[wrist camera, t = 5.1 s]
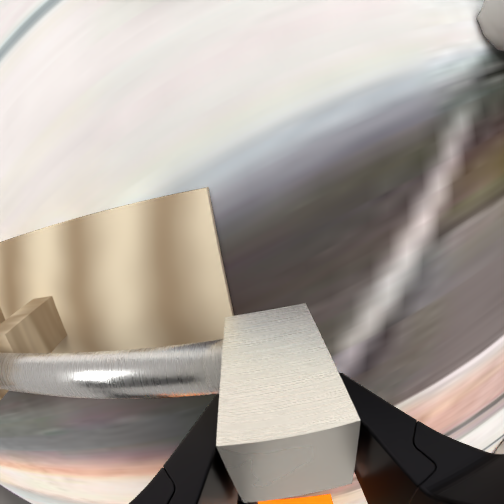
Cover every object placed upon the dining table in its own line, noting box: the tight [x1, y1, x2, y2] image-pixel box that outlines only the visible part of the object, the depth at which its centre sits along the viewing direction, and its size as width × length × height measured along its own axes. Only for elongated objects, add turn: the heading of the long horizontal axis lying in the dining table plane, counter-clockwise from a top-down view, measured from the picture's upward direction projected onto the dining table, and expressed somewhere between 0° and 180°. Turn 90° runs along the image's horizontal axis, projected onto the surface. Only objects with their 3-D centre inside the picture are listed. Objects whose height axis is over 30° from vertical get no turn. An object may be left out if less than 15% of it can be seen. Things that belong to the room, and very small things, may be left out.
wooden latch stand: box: [0, 187, 234, 400], centre depth 13 cm, size 29×14×12 cm, turn 100°
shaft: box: [0, 303, 361, 503], centre depth 8 cm, size 21×3×6 cm, turn 100°
